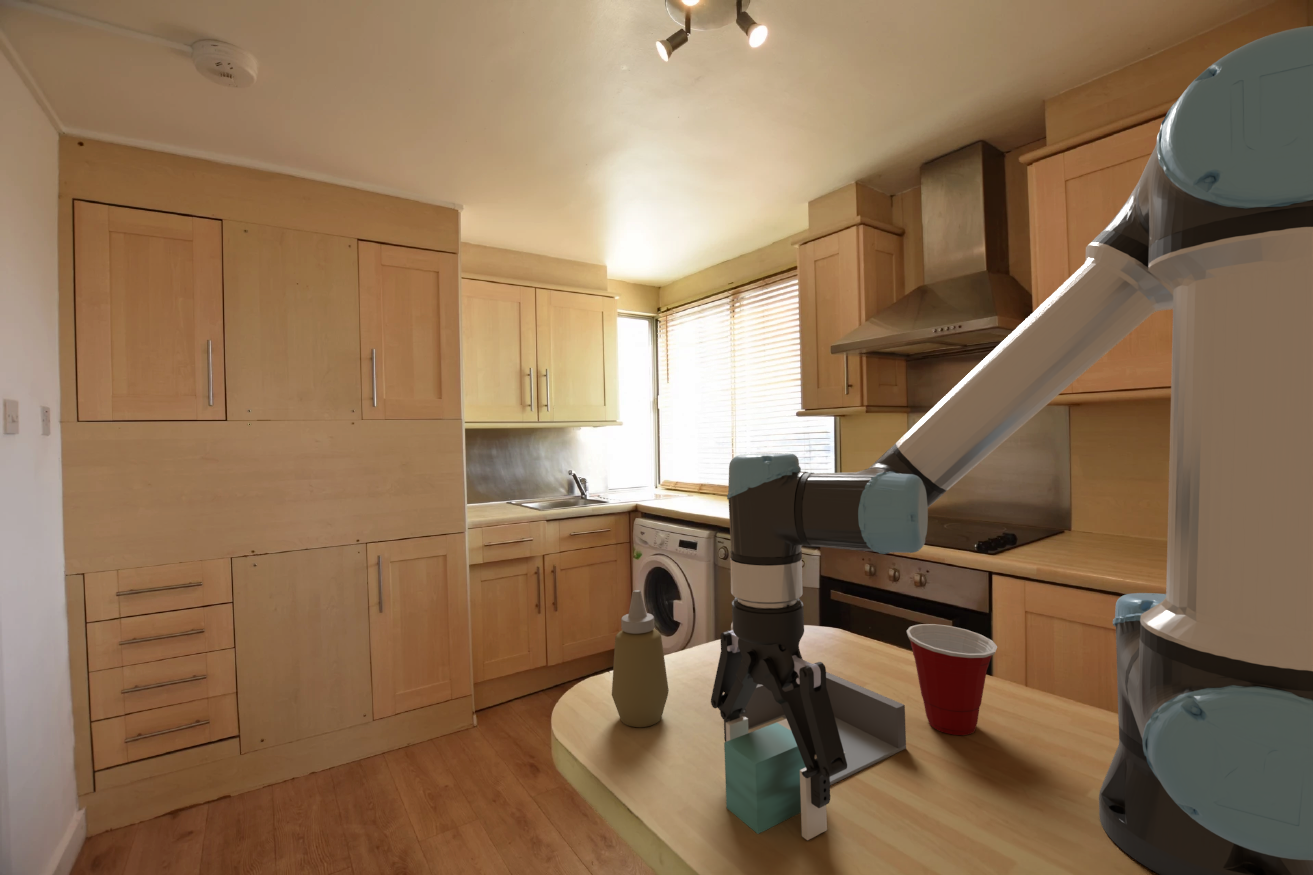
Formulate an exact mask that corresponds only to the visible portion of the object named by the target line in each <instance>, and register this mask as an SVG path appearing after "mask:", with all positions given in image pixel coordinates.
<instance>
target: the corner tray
mask: <svg viewBox="0 0 1313 875" xmlns="http://www.w3.org/2000/svg"><path fill="white" fill-rule="evenodd" d="M826 687H827V691H828V695H829V699H830V702H831V706H832V710H833V713H834V717H835V721H836V724H837V728H838V732H839V736H840V739H841V743H842V747H843V750H844V754H845V758H846V761H847V768H846V769H845V770H843V771H841V772H839V773H837V774H835V775H833V776H831V777H830V786H832V785H833V784H836V783H837V782H840V781H841V780H844V779H846V778H848V777H850V776H852V775H854V774H856V773H858V772H860V771H862V770H865V769H866V768H869V767H870V766H873V765H875V764H876V763H879V762H881V761H883V760H885V759H887V758H889V757H890V756H893V755H895V754H898V753H899V752H902V751H903V750H905V749H907V738H906V737H907V735H906V731H907V730H906V729H907V728H906V709H905V708H906V706H905V704H903V703H902V702H899V701H897V700H895V699H892V698H889V697H887V696H885V695H883V694H879V693H878V692H875V691H873V690H870V689H868V688H866V687H864V686H861V685H859V684H856V683H854V682H851V681H849V680H847V679H844V678H841V677H840V676H838V675H836V674H832V673H830V672H827V671H826ZM792 689H793V685H792V683H791V685H790V686H789V687H787V688H785V689H783V690H784V691H785V692H787V691H790V690H792ZM745 709H746V710H744V711H747V712H746V713H743V714H741V715H740V717H742V716H745V717H746V718H748V732H749V733H750V732H753V731H755V730H758V729H761V728H763V727H766V726H769V725H771V724H774V723H776V722H779V721H782V720H784V719H786V716H785V714H784V711H783V708H782V706H781V704H779V703H777V702H776V701H775V699H774V696H773V694H772V691H770V690H768V689H767V688H766V687H765V686H763V685H760V684H758V685H757V687H756V689H755V690H754V692H753V694H752V696H751V698H750V700H749V702H748V704H747V706H746V708H745Z"/></svg>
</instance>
